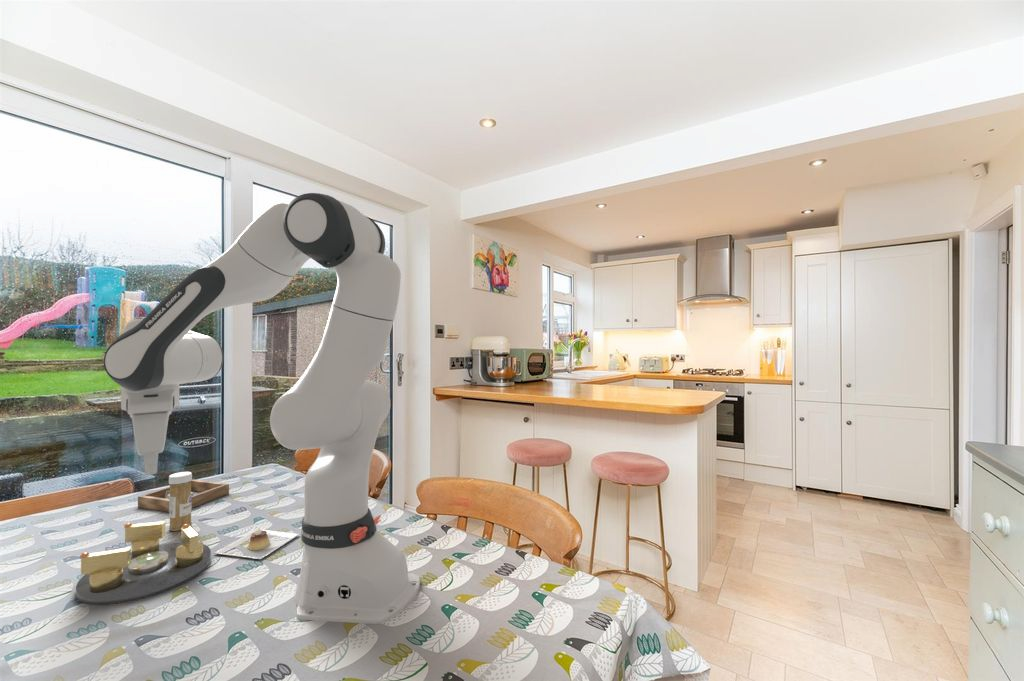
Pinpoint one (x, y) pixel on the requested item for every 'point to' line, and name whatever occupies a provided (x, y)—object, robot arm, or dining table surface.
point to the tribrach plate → (146, 577)
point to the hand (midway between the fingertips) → (151, 468)
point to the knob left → (105, 568)
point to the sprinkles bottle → (180, 500)
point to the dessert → (257, 541)
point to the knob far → (144, 537)
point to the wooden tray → (207, 494)
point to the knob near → (189, 548)
